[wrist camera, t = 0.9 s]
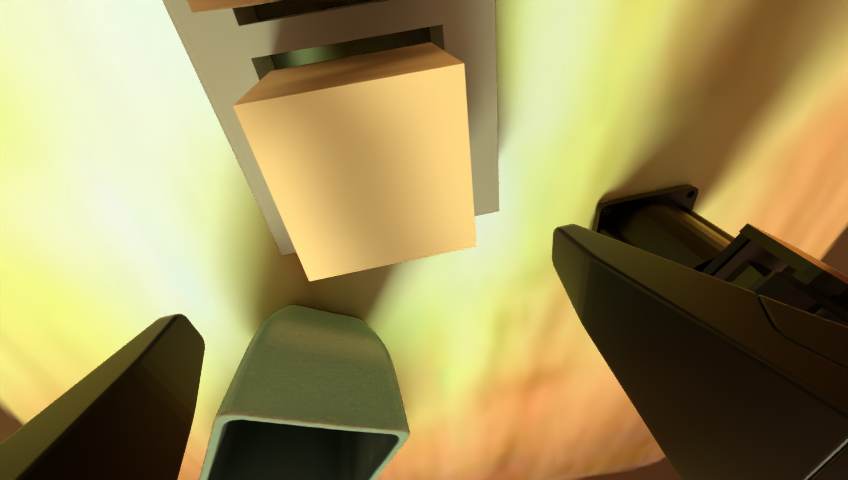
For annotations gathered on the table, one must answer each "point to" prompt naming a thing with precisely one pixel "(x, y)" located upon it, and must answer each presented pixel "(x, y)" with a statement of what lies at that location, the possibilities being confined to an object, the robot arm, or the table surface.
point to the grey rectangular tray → (391, 12)
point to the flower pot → (309, 403)
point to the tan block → (222, 4)
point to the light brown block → (366, 157)
